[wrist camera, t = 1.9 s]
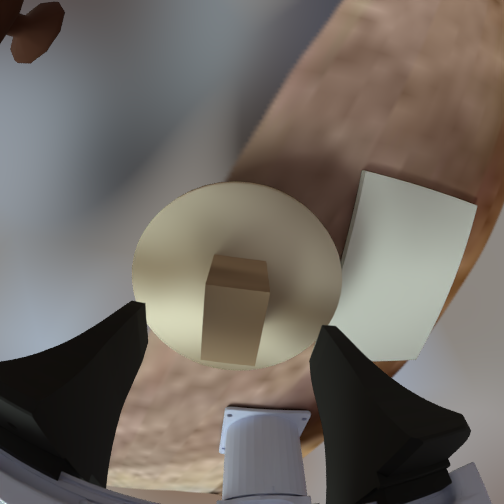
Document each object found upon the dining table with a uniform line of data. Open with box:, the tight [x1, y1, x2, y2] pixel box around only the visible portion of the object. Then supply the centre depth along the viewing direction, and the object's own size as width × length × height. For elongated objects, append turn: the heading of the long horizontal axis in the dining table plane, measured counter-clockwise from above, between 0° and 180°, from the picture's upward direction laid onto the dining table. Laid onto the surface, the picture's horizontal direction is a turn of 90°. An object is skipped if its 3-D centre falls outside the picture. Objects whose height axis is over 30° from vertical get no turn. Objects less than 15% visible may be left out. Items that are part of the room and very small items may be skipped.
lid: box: [132, 181, 342, 371], centre depth 13 cm, size 11×11×4 cm
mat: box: [314, 170, 477, 361], centre depth 18 cm, size 14×10×1 cm
